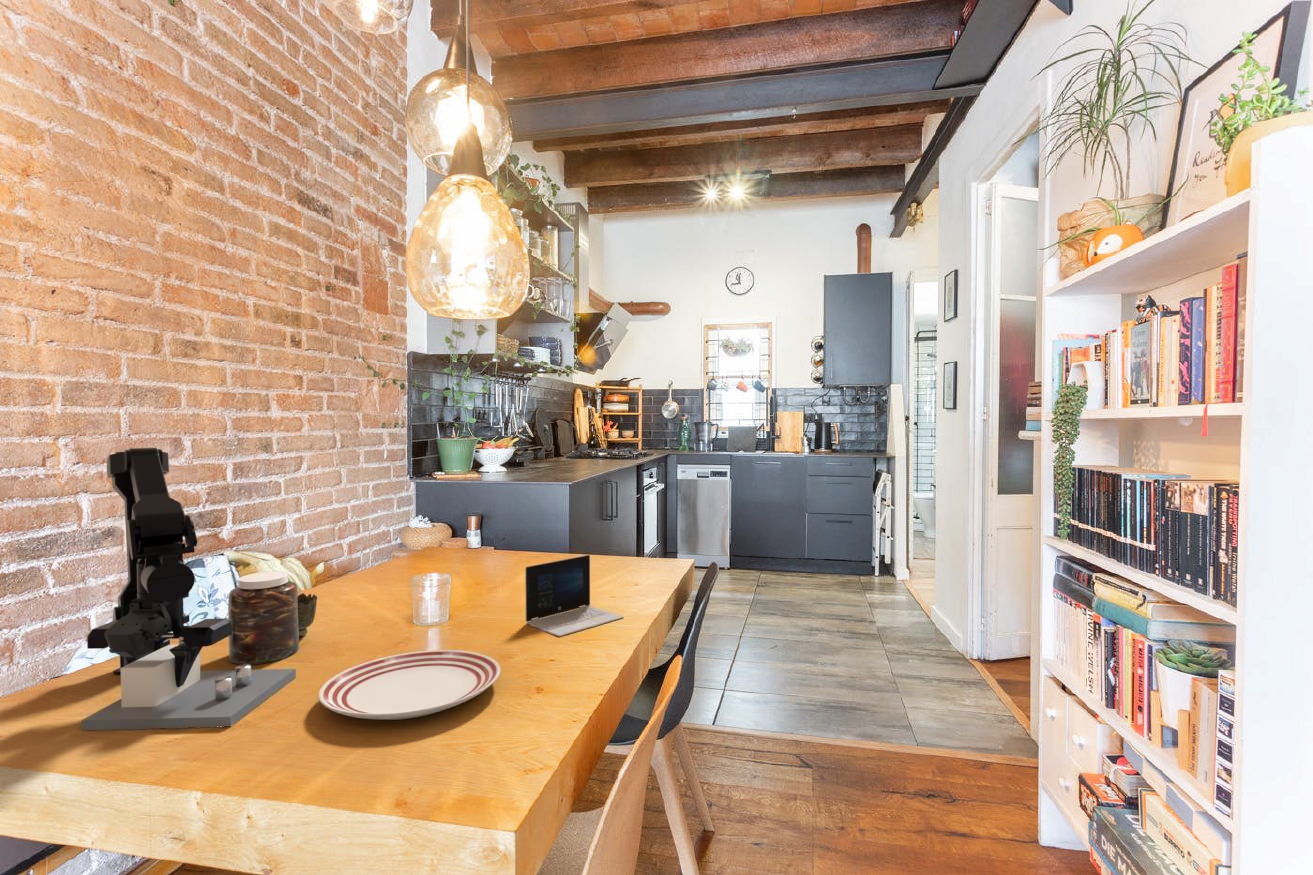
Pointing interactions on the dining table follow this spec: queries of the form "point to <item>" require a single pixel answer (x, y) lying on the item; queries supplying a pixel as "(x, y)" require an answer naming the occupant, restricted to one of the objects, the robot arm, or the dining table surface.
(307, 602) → the cup
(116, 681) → the dining table surface
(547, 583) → the laptop
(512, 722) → the dining table surface
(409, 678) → the dinner plate
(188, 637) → the robot arm
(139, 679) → the housing
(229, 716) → the board
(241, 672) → the stubs
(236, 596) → the jar
